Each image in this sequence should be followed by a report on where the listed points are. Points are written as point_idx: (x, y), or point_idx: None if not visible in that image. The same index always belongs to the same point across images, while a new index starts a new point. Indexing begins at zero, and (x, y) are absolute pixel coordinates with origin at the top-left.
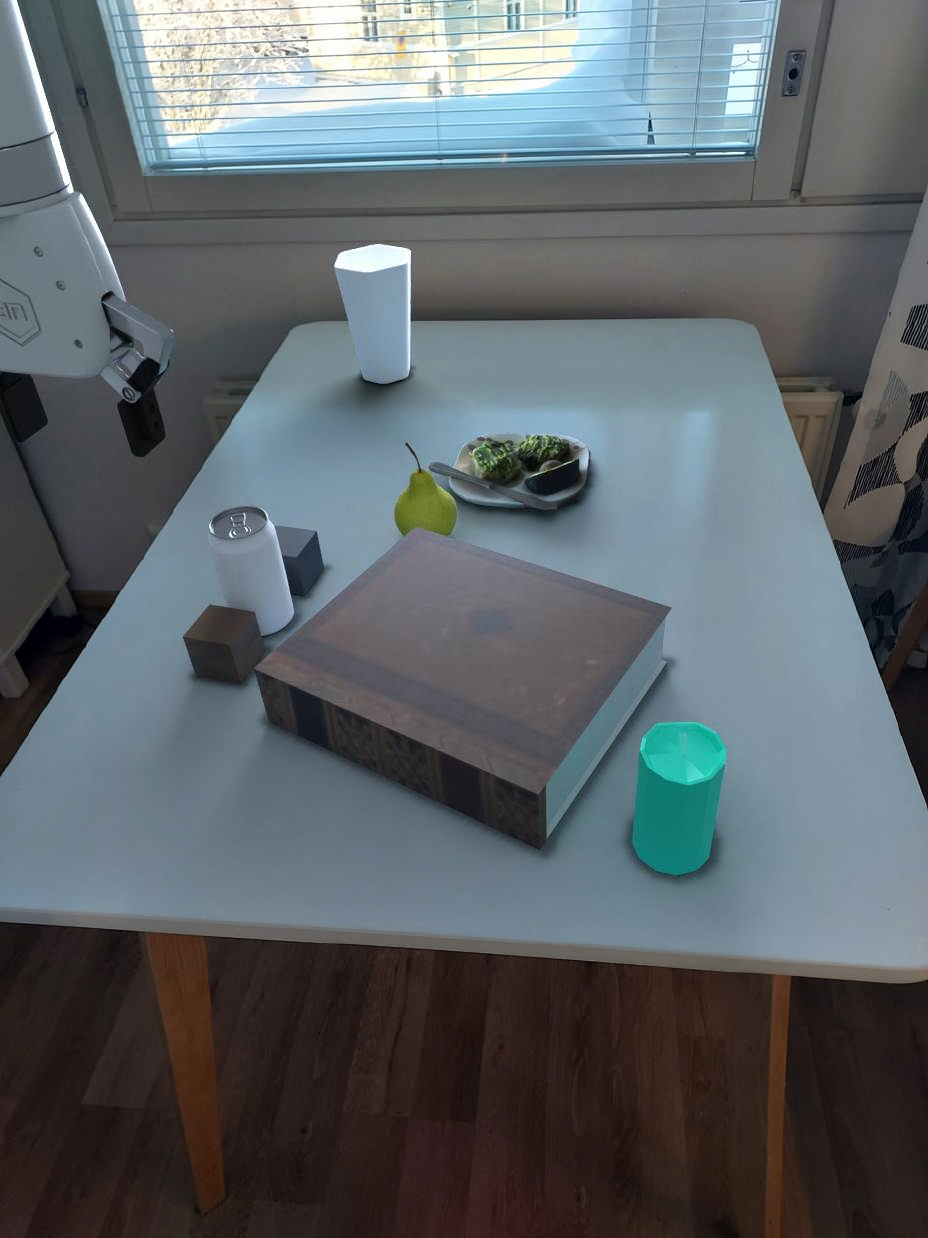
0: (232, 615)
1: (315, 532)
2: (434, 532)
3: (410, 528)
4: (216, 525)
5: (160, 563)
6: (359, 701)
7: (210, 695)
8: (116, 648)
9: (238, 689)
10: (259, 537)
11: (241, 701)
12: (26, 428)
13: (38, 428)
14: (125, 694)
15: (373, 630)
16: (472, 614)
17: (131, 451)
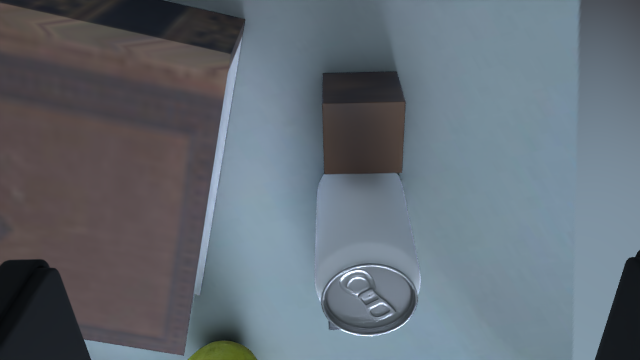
0: (353, 160)
1: (329, 326)
2: (194, 357)
3: (221, 356)
4: (405, 289)
5: (561, 250)
6: (31, 32)
7: (355, 42)
8: (545, 90)
9: (322, 64)
10: (323, 280)
11: (305, 44)
12: (637, 319)
13: (605, 339)
14: (484, 10)
15: (110, 170)
16: (3, 228)
17: (43, 273)
